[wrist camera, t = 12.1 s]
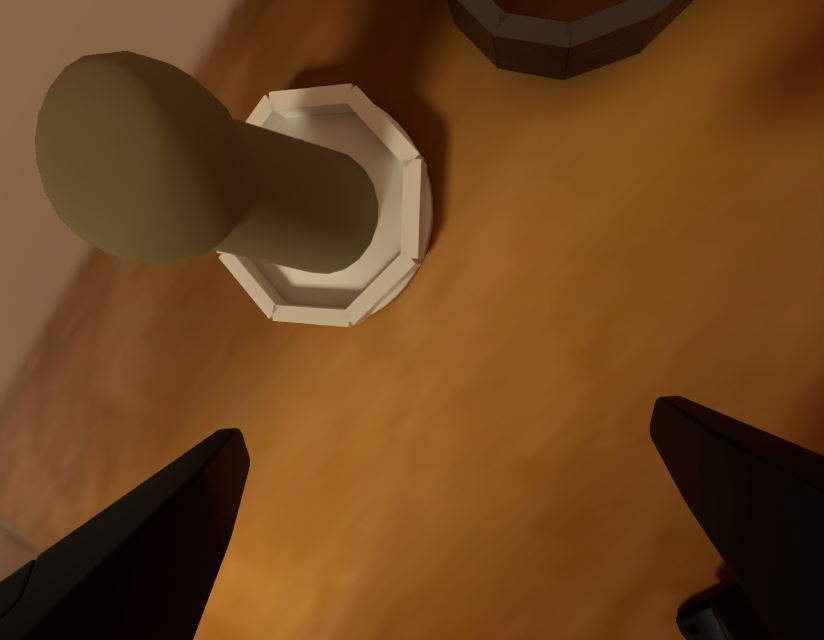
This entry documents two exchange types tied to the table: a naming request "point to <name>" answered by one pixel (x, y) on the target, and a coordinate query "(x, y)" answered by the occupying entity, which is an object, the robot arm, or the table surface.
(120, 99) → the cork
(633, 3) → the dark grey ring
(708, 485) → the robot arm
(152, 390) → the table surface
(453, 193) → the table surface
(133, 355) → the table surface
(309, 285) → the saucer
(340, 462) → the table surface
